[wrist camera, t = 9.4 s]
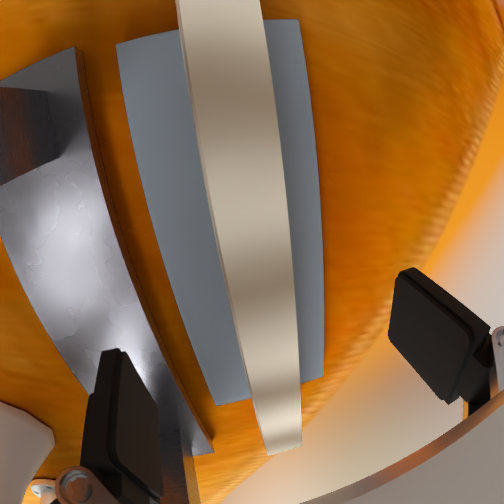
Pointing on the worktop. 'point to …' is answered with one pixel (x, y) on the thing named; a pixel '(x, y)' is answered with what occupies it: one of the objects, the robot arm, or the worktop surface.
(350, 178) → the worktop surface
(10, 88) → the grey holder stand
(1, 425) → the flask
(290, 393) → the rail
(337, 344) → the worktop surface
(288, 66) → the mat
